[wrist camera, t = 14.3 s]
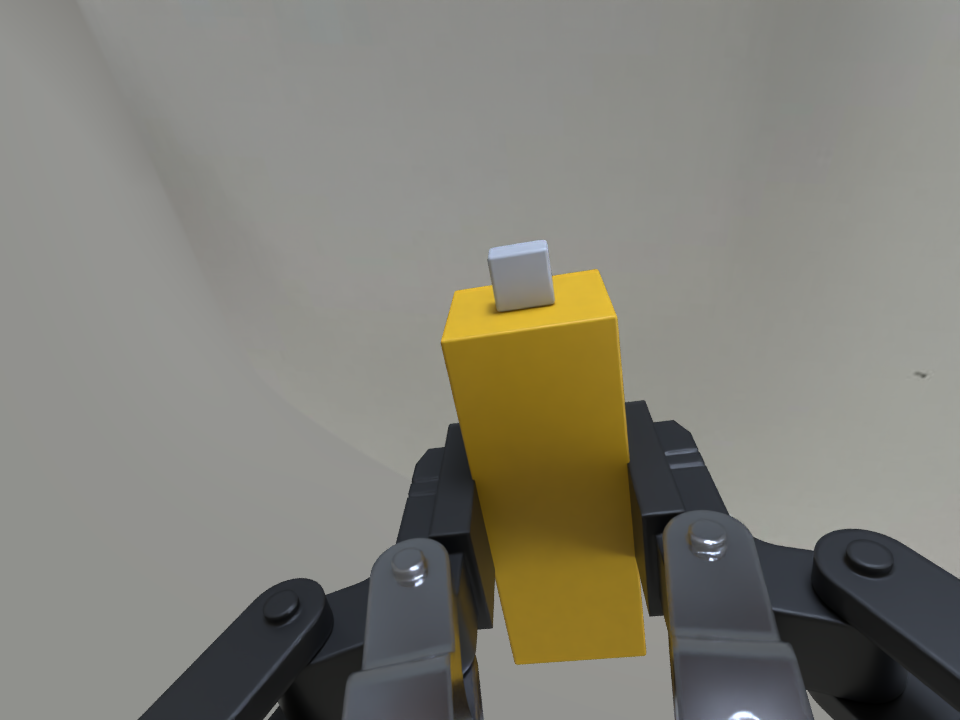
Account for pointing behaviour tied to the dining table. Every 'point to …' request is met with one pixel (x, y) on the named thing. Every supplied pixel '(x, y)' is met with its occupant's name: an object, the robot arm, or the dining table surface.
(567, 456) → the box cutter
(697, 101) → the dining table surface
